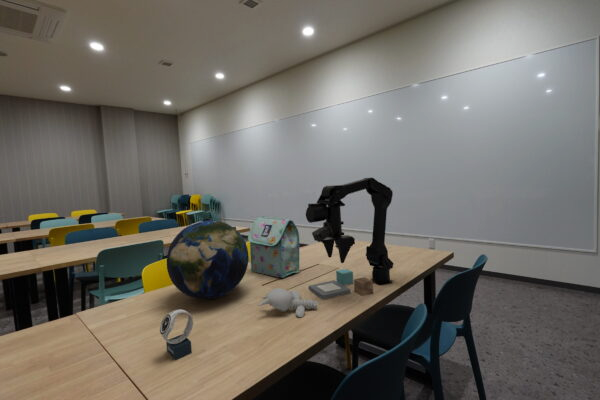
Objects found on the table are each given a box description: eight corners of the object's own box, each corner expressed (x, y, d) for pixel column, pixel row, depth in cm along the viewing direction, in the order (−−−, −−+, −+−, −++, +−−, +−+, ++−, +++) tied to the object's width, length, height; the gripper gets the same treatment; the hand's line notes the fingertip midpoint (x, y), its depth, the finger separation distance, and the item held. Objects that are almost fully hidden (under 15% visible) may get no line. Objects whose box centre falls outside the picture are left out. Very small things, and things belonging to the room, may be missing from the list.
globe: (213, 279, 136) (208, 215, 134) (265, 288, 121) (261, 216, 119) (152, 304, 110) (146, 225, 108) (209, 320, 95) (203, 228, 93)
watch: (159, 355, 76) (156, 313, 76) (189, 342, 82) (187, 304, 81) (166, 364, 72) (163, 320, 72) (198, 350, 78) (195, 309, 77)
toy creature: (321, 308, 93) (258, 304, 90) (317, 325, 96) (256, 323, 93) (316, 282, 104) (259, 278, 101) (312, 298, 107) (257, 295, 104)
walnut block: (365, 289, 115) (364, 277, 115) (373, 293, 111) (372, 280, 110) (354, 292, 113) (353, 279, 113) (362, 296, 109) (361, 283, 108)
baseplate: (334, 283, 123) (334, 280, 123) (350, 293, 112) (350, 289, 112) (308, 289, 118) (308, 285, 118) (323, 299, 107) (322, 295, 107)
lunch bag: (246, 272, 144) (243, 218, 142) (271, 264, 156) (268, 214, 155) (280, 281, 129) (277, 220, 127) (304, 271, 141) (301, 216, 140)
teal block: (346, 280, 127) (346, 268, 127) (353, 283, 122) (352, 271, 122) (336, 282, 125) (336, 270, 125) (343, 285, 120) (342, 273, 120)
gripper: (303, 219, 115) (306, 258, 116) (326, 224, 98) (329, 270, 99) (328, 215, 119) (330, 253, 121) (354, 220, 102) (357, 264, 104)
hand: (335, 260), depth 111 cm, fingers open, 9 cm apart
